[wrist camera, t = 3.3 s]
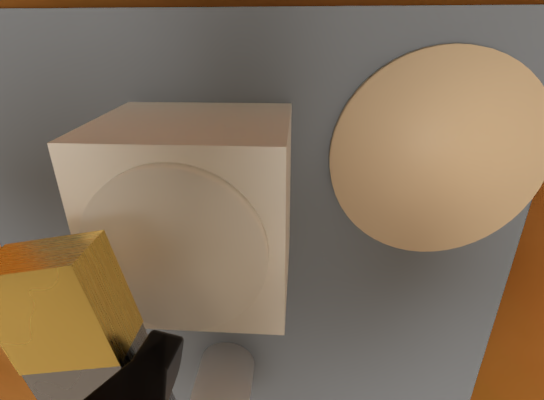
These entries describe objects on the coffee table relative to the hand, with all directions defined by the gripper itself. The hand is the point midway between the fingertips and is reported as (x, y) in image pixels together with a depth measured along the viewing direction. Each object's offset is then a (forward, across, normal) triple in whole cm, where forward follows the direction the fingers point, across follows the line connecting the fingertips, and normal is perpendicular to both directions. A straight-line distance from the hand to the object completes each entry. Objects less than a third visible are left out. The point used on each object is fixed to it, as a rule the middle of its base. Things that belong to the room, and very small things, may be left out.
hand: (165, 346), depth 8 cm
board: (+8, -1, +2) cm, 8 cm away
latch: (0, 0, +4) cm, 4 cm away
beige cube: (+7, +1, -1) cm, 7 cm away
